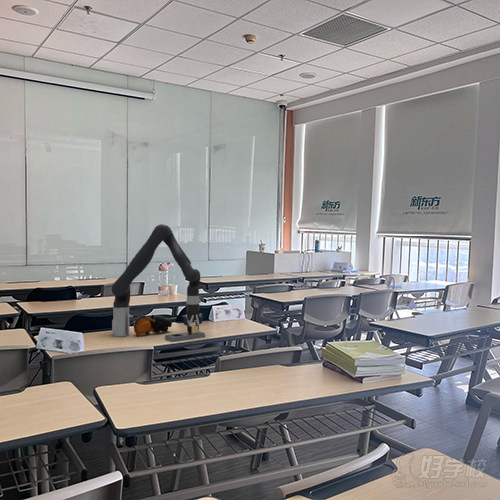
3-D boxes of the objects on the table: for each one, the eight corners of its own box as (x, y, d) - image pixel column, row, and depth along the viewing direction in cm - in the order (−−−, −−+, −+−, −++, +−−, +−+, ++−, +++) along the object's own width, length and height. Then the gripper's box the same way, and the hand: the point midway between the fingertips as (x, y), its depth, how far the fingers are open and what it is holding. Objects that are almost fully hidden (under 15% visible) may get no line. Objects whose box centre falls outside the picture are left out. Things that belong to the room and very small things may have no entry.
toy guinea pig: (166, 345, 303) (175, 321, 306) (134, 335, 290) (143, 311, 293) (160, 342, 309) (169, 319, 312) (128, 333, 296) (137, 309, 299)
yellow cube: (191, 334, 289) (191, 326, 289) (188, 333, 293) (188, 325, 293) (198, 333, 292) (197, 325, 292) (194, 332, 295) (194, 324, 295)
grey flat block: (171, 342, 279) (171, 337, 279) (165, 339, 285) (165, 335, 285) (204, 337, 293) (204, 332, 293) (197, 334, 299) (197, 330, 299)
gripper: (199, 301, 299) (200, 329, 300) (179, 303, 290) (179, 332, 291) (206, 302, 293) (206, 331, 294) (185, 304, 284) (185, 334, 285)
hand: (193, 331), depth 292 cm, fingers open, 4 cm apart
